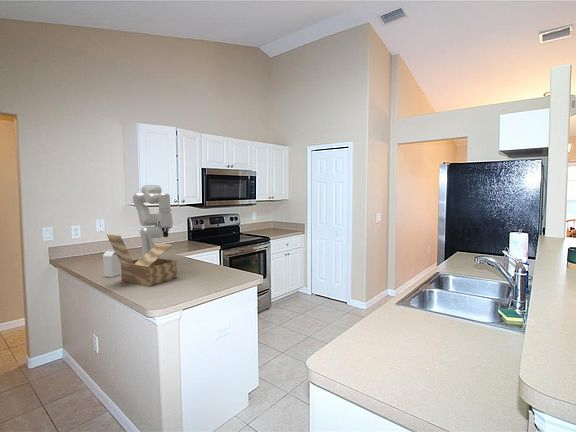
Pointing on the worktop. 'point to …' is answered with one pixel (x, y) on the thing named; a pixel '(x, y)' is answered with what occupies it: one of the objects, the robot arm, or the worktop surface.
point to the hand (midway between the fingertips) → (165, 236)
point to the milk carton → (110, 263)
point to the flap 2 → (153, 255)
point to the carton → (149, 272)
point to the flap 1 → (120, 249)
